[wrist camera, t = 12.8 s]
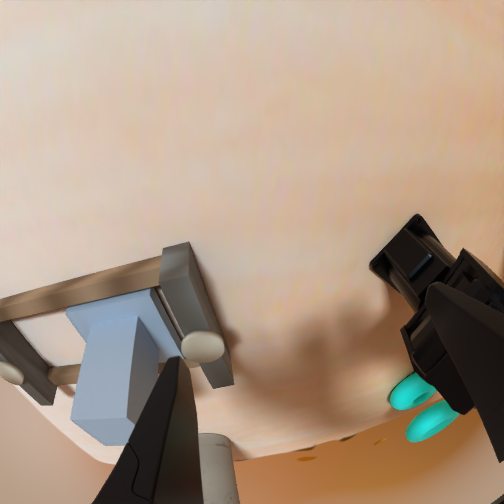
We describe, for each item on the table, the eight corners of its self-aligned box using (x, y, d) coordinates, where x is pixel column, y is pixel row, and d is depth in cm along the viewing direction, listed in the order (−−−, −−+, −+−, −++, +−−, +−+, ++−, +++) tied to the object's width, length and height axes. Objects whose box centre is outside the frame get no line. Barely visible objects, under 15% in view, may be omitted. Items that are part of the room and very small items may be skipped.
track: (196, 239, 22) (197, 278, 18) (235, 350, 29) (241, 388, 25) (-21, 300, 21) (-39, 331, 17) (44, 378, 28) (36, 409, 25)
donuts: (442, 416, 31) (473, 405, 34) (413, 364, 39) (446, 362, 42) (397, 450, 35) (433, 438, 39) (376, 402, 44) (411, 396, 47)
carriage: (151, 282, 23) (138, 401, 14) (183, 346, 27) (188, 449, 19) (69, 301, 23) (36, 406, 14) (110, 359, 27) (99, 453, 18)
